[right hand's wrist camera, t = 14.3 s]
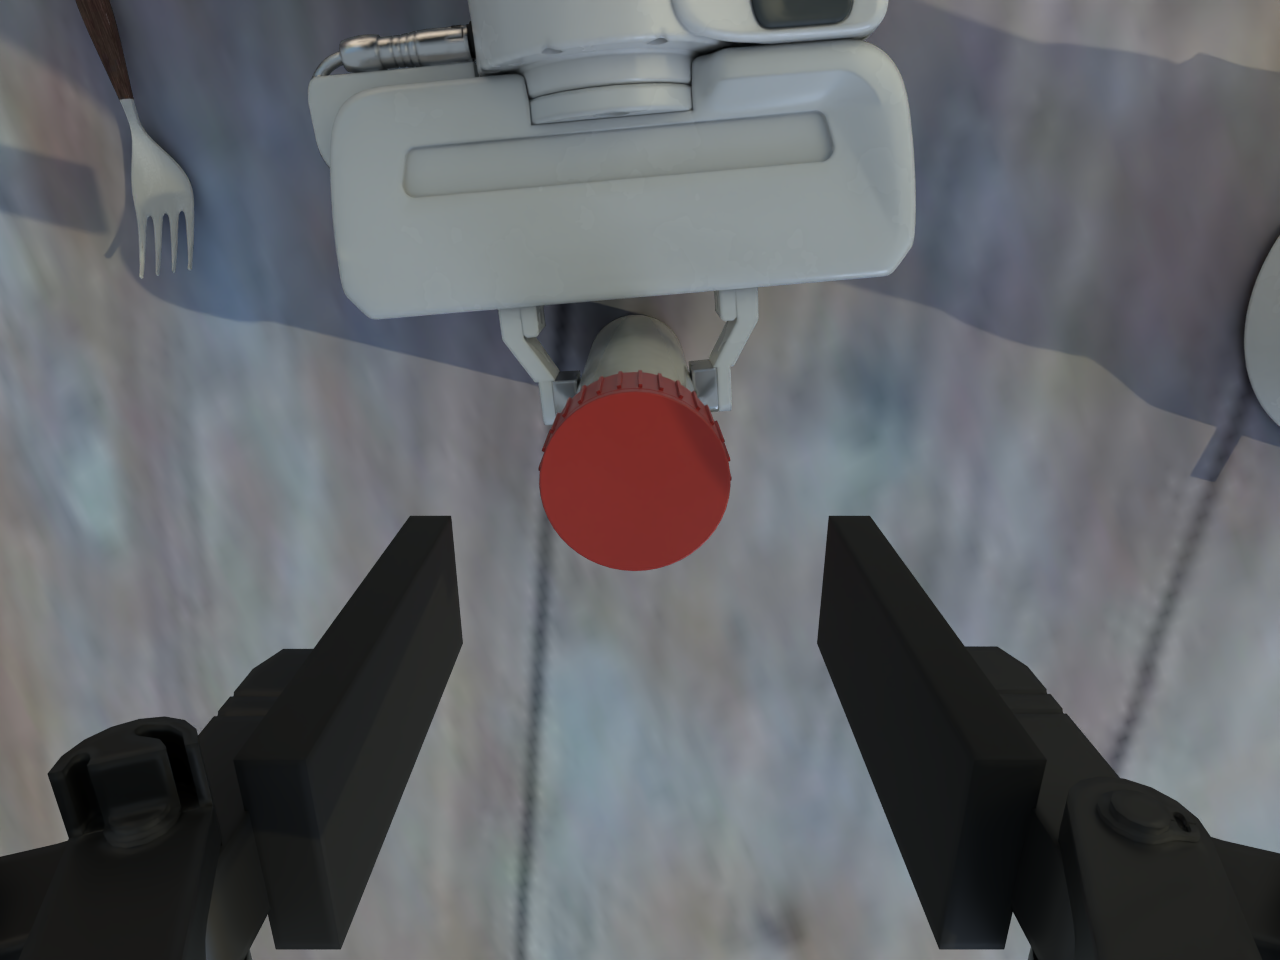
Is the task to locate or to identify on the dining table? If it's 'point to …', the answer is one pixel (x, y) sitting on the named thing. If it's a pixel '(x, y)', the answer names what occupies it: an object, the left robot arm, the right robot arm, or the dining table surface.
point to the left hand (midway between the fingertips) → (638, 414)
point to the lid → (635, 472)
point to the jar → (636, 351)
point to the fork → (142, 146)
